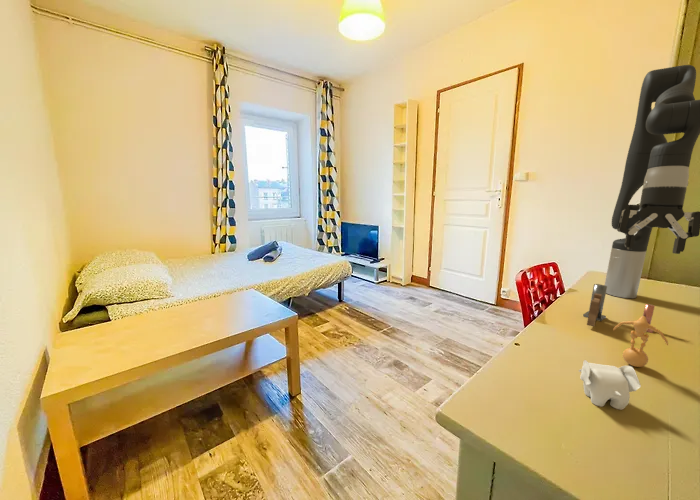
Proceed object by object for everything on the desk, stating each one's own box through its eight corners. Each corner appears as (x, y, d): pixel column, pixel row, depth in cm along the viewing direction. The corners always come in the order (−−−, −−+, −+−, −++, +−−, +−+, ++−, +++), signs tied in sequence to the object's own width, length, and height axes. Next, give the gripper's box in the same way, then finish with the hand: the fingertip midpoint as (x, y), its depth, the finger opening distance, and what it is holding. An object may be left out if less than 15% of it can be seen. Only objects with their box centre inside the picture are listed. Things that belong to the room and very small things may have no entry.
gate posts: (589, 311, 93) (595, 281, 91) (655, 329, 81) (663, 295, 79) (583, 316, 89) (588, 284, 87) (650, 335, 78) (658, 299, 76)
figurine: (661, 371, 62) (674, 318, 59) (658, 382, 58) (672, 326, 56) (610, 354, 68) (620, 305, 66) (604, 363, 64) (615, 312, 62)
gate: (590, 315, 87) (594, 293, 86) (597, 316, 86) (601, 294, 85) (586, 324, 81) (591, 301, 80) (594, 326, 80) (598, 302, 79)
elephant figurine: (608, 384, 57) (615, 351, 56) (643, 421, 48) (653, 382, 47) (564, 378, 59) (570, 345, 58) (589, 412, 50) (597, 374, 48)
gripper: (698, 189, 72) (685, 254, 74) (622, 188, 79) (611, 247, 81) (715, 185, 66) (700, 256, 67) (629, 184, 73) (618, 249, 75)
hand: (651, 251), depth 74 cm, fingers open, 8 cm apart
